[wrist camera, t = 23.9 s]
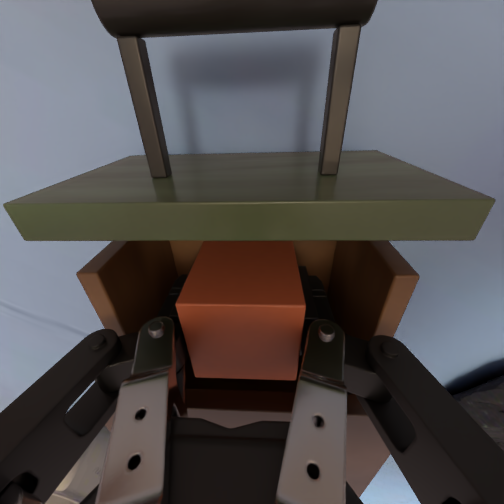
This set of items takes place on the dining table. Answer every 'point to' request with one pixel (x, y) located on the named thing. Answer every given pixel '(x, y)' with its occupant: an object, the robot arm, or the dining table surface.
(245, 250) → the block
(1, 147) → the dining table surface
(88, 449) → the teacup
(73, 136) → the dining table surface
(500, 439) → the dark slate chunk
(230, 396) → the cabinet
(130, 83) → the drawer
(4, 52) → the dining table surface
